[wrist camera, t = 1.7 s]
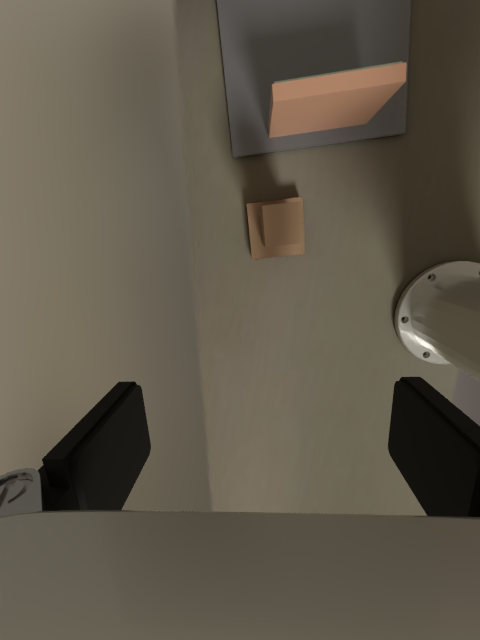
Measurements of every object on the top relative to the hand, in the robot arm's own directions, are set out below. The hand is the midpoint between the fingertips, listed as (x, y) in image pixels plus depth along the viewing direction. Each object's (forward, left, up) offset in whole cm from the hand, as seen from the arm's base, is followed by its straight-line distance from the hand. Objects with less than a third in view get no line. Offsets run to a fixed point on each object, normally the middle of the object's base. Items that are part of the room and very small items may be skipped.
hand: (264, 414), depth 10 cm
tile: (-8, -17, -25) cm, 31 cm away
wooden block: (-3, -7, -25) cm, 27 cm away
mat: (-8, -23, -25) cm, 35 cm away
